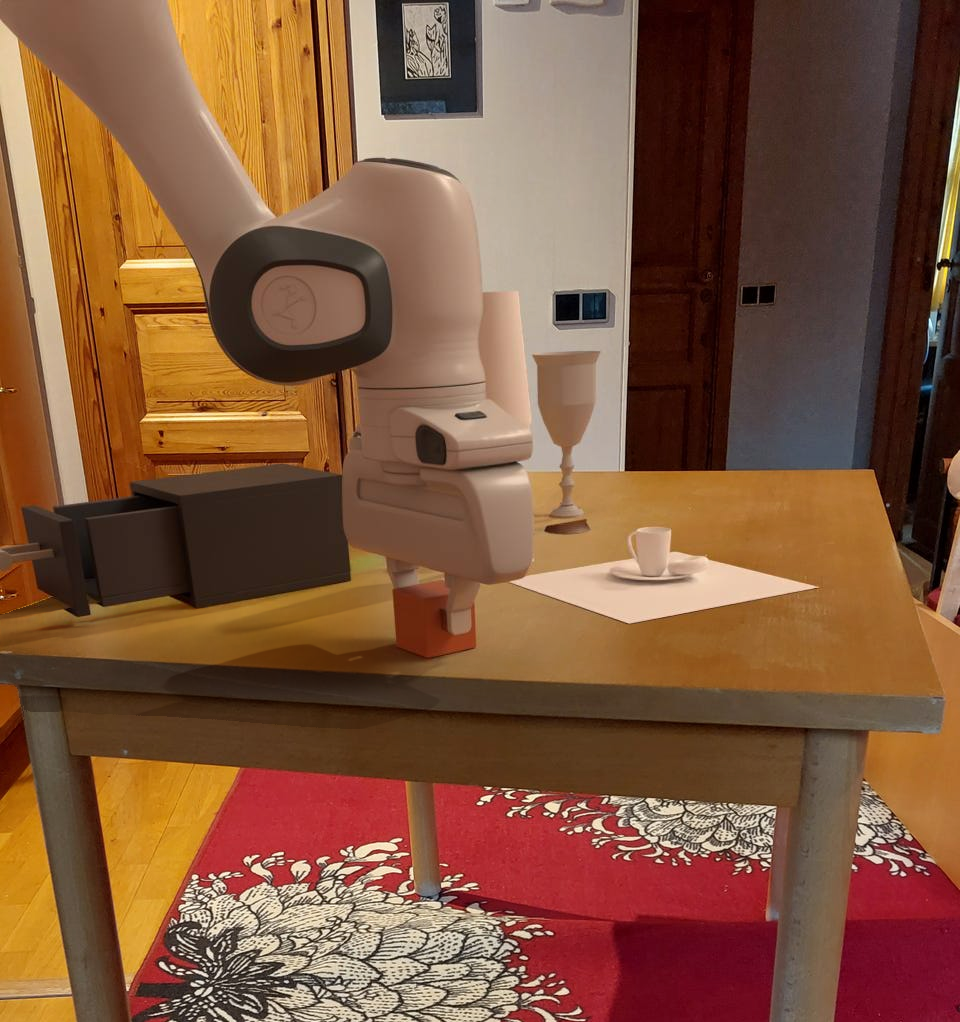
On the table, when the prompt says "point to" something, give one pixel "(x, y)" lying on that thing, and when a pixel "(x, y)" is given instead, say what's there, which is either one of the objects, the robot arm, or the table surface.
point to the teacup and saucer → (657, 582)
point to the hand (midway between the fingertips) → (434, 624)
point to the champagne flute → (504, 354)
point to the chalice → (566, 418)
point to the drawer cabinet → (256, 530)
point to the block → (427, 621)
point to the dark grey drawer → (104, 551)
